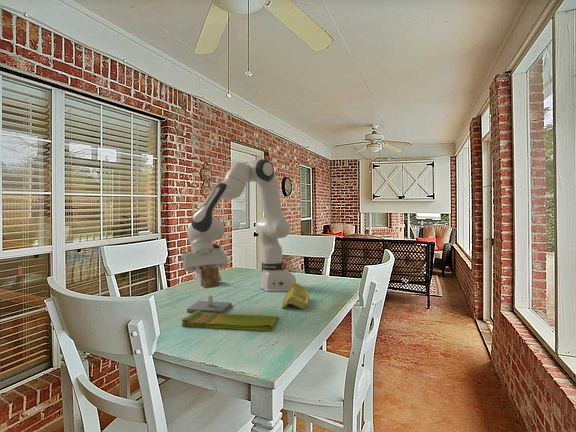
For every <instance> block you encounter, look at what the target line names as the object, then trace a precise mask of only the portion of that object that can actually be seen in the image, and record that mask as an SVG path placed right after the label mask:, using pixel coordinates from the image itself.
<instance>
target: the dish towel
mask: <svg viewBox="0 0 576 432" xmlns="http://www.w3.org/2000/svg"><path fill="white" fill-rule="evenodd" d="M278 320H279V316H276V315H263V314H262V315H261V314H235V313H234V314H231V313H223V314H220V313H208V312H202V311H196V312H194V313H191V314H189V315H188V316H186V317H184V318H182V319H181V322H182V323H181V327H183V328H185V327H186V328H194V329H195V328H196V329H198V328H199V329H212V330H213V329H215V330H227V331H228V330H230V331H232V330H233V331H243V332H244V331H247V332H266V333H269V332H270V333H271V332H272V331H273V329H274V327H275V325H276V323H277V322H278Z"/></svg>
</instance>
